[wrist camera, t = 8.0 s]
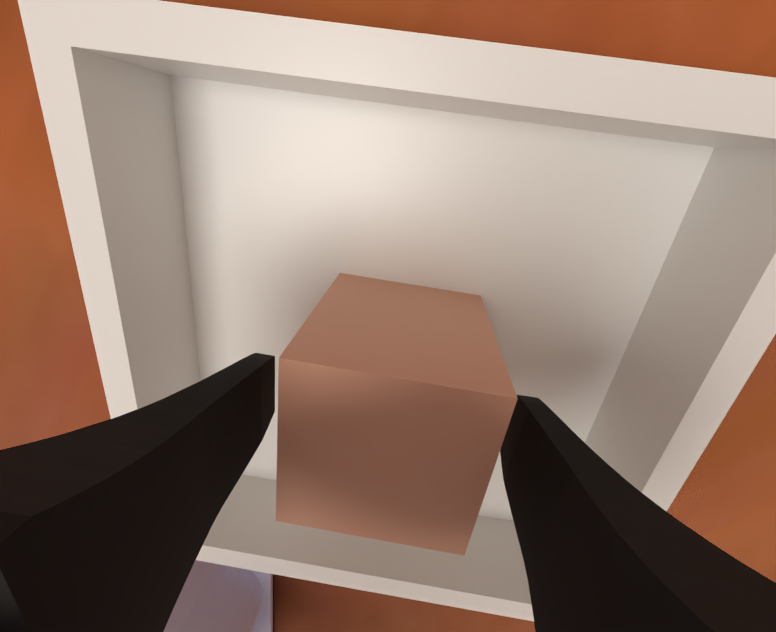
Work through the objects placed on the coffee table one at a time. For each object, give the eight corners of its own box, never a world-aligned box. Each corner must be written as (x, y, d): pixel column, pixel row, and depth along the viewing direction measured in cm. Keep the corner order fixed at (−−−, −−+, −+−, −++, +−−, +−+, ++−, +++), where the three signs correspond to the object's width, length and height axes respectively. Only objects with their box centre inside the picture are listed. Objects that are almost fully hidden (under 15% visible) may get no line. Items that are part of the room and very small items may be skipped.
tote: (559, 535, 18) (592, 632, 15) (195, 472, 19) (139, 550, 15) (754, 114, 11) (921, 96, 7) (145, 35, 11) (13, -18, 8)
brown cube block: (451, 410, 15) (464, 555, 10) (329, 389, 15) (275, 520, 10) (480, 295, 13) (517, 398, 8) (339, 272, 13) (278, 358, 8)
